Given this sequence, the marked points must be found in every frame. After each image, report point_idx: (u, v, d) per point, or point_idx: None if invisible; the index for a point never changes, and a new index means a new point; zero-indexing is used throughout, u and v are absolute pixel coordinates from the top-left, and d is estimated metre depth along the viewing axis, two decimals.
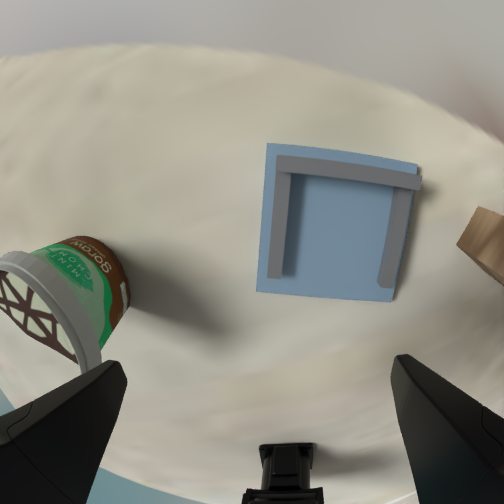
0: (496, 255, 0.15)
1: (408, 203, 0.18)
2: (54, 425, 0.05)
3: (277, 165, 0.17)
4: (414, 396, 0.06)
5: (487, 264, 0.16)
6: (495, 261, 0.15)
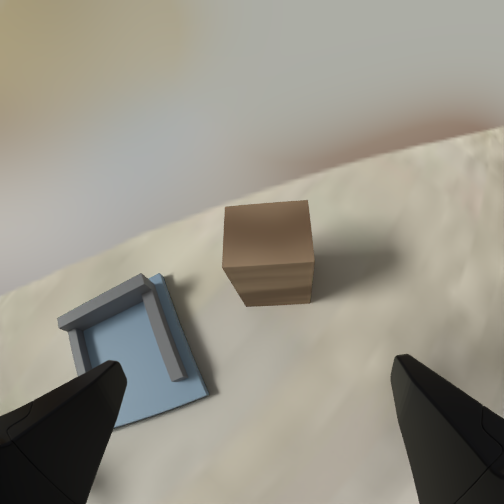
0: None
1: (153, 301, 0.23)
2: (54, 425, 0.05)
3: (59, 324, 0.21)
4: (414, 396, 0.06)
5: (233, 284, 0.19)
6: None
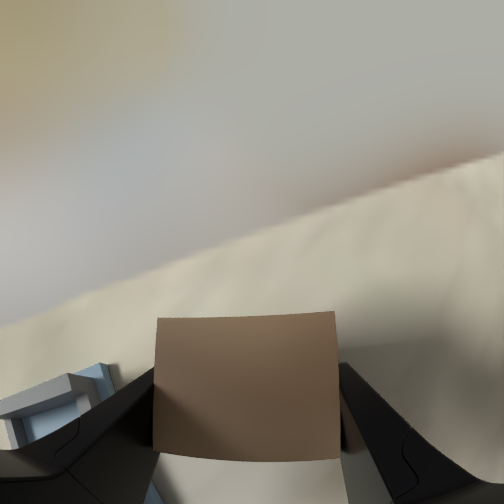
0: None
1: None
2: (109, 443, 0.05)
3: None
4: (342, 408, 0.06)
5: None
6: None
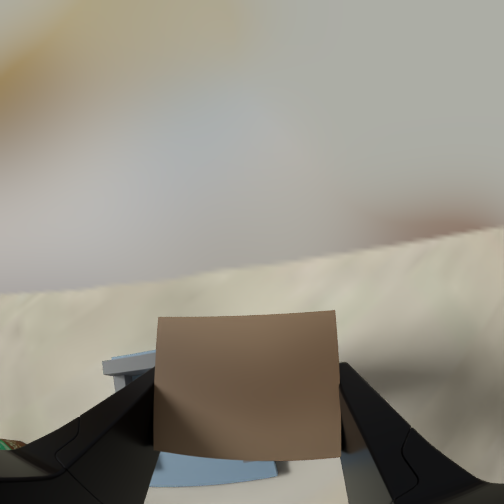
0: None
1: None
2: (110, 443, 0.05)
3: (104, 369, 0.18)
4: (342, 407, 0.06)
5: None
6: None
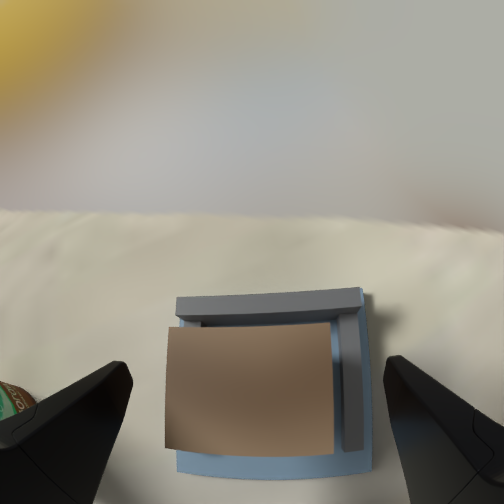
0: None
1: (356, 332, 0.15)
2: (60, 427, 0.05)
3: (177, 308, 0.15)
4: (405, 398, 0.06)
5: None
6: None
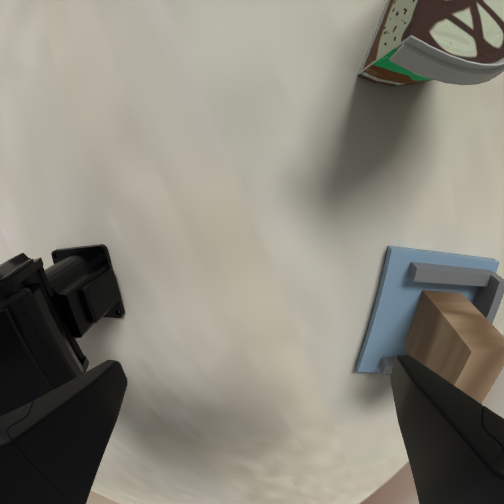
0: (463, 326, 0.15)
1: None
2: (54, 425, 0.05)
3: (502, 283, 0.16)
4: (414, 396, 0.06)
5: (451, 323, 0.15)
6: (461, 328, 0.15)
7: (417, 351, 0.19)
